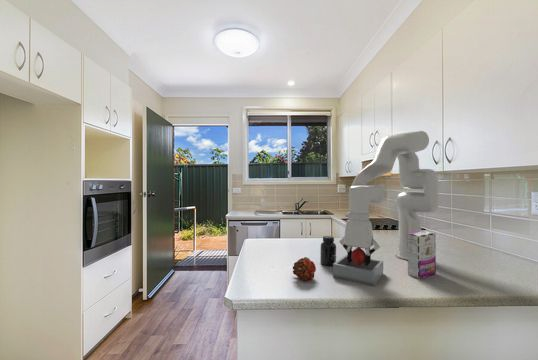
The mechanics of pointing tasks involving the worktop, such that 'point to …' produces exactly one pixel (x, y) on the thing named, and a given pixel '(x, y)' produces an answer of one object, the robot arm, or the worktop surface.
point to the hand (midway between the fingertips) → (358, 262)
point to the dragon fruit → (304, 268)
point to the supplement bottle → (328, 251)
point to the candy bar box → (421, 254)
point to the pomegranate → (358, 256)
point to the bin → (358, 271)
